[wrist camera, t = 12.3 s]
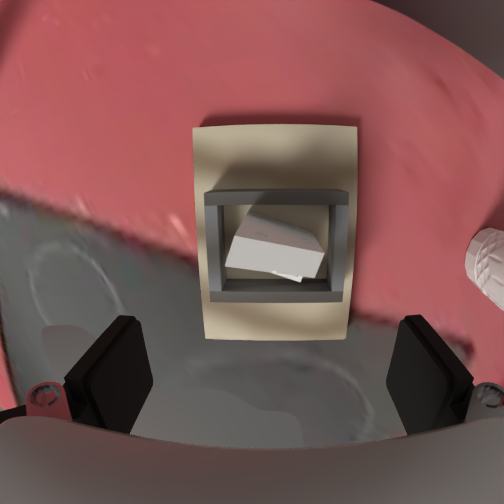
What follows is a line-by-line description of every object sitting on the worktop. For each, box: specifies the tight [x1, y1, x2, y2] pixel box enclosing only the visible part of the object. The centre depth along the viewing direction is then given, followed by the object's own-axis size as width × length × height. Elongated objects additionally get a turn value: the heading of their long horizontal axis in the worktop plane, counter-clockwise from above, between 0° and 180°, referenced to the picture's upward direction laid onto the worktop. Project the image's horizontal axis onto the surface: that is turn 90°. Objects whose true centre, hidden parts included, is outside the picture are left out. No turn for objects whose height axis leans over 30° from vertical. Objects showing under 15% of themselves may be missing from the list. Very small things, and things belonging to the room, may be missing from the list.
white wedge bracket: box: [225, 210, 325, 282], centre depth 23 cm, size 4×10×9 cm
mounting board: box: [193, 124, 358, 340], centre depth 26 cm, size 20×14×4 cm
